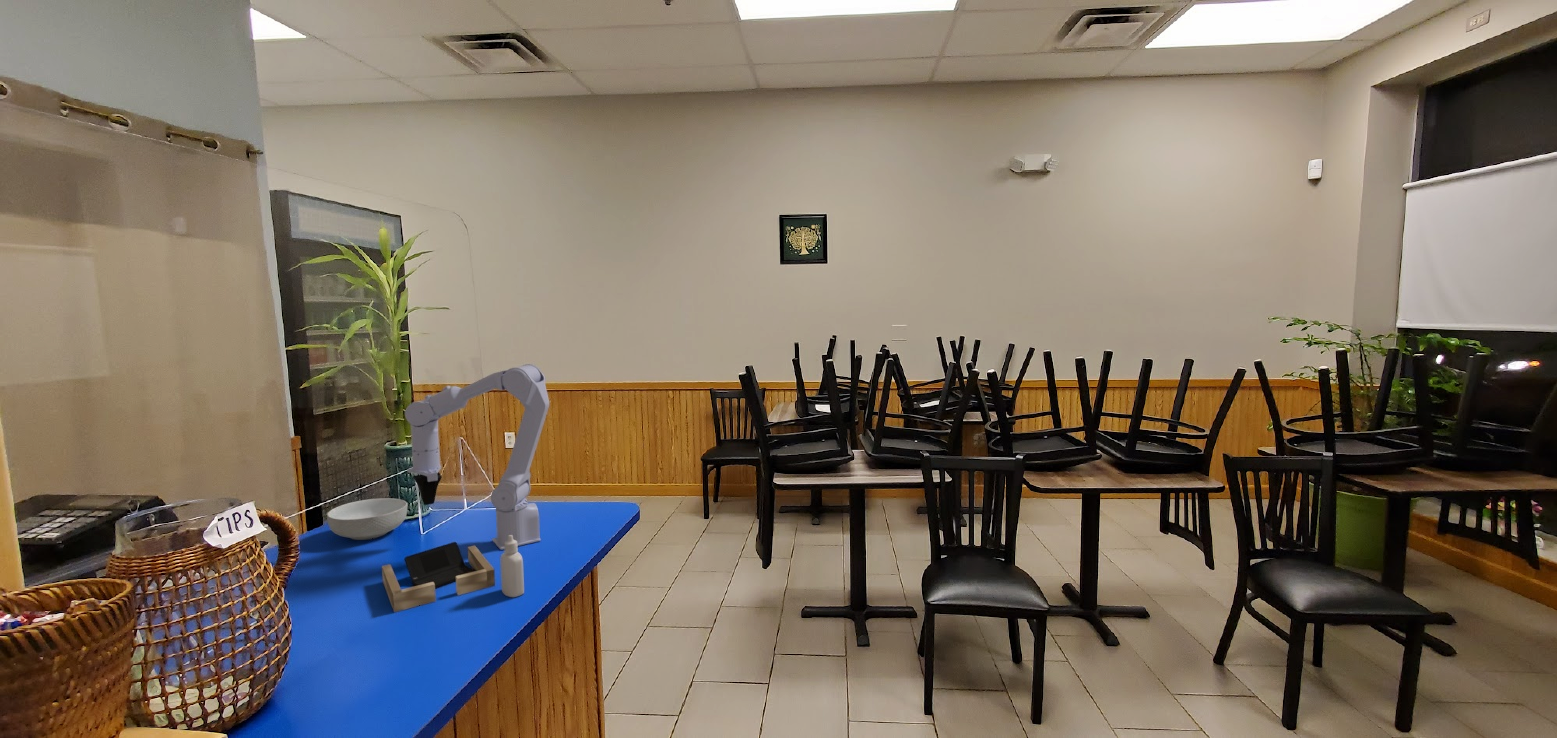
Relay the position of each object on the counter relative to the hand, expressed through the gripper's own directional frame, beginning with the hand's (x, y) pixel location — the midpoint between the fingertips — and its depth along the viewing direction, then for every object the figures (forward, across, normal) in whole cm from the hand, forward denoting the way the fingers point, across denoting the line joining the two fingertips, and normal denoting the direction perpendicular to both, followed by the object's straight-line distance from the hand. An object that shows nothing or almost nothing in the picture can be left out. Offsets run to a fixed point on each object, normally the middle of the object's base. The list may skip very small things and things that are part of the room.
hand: (428, 503), depth 149 cm
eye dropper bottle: (+10, +40, +8) cm, 42 cm away
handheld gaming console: (+10, +23, -2) cm, 25 cm away
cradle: (+10, +26, -3) cm, 28 cm away
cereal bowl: (+10, -16, -11) cm, 22 cm away
